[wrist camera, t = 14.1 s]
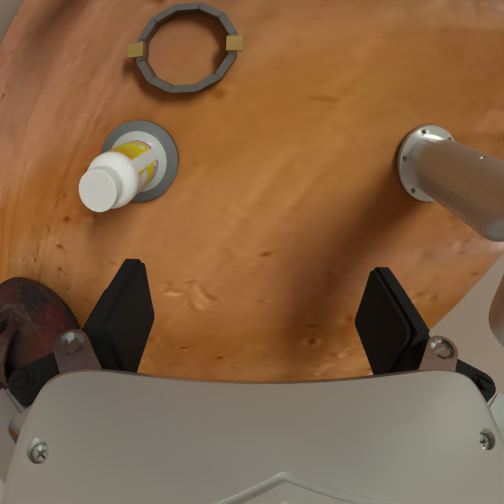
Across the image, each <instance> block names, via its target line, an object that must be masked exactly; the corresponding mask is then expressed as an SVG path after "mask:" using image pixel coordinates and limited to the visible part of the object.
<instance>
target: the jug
mask: <svg viewBox="0 0 504 504" xmlns="http://www.w3.org/2000/svg"><path fill="white" fill-rule="evenodd" d="M71 329H78V330H80V329H79V327H78V324H77V322H76V319H75V318H74V316H73V314H72V312H71V311H70V309H69V308H68V307H67V305H66V304H65V303H64V302H63V301H62V300H61V299H60V298H59V297H58V296H57V295H56V294H55V293H54V292H53V291H51V290H50V289H49V288H47V287H46V286H44V285H42V284H40V283H38V282H36V281H33V280H30V279H27V278H21V277H15V278H11V279H8V280H6V281H4V282H3V283H1V284H0V390H1V389H2V388H4V389H5V390H6V389H7V388H8V381H9V378H10V376H11V374H12V373H13V372H14V371H15V370H17V369H19V368H21V367H23V366H25V365H27V364H29V363H31V362H33V361H35V360H38V359H40V358H42V357H44V356H46V355H48V354H50V353H52V352H54V350H53V345H54V341H55V340H56V338H57V337H58V336H59V335H60V334H61V333H63V332H65V331H67V330H71Z"/></svg>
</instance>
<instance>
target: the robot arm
mask: <svg viewBox="0 0 504 504" xmlns="http://www.w3.org/2000/svg"><path fill="white" fill-rule="evenodd" d="M402 158H403V159H402ZM397 169H398V175H399V179H400V181H401V183H402V186H403V187H404V188H405V190H406V191H407V192H408V193H409V194H410V195H411V196H413V197H414V198H416V199H418V200H420V201H425V202H431V201H436V202H438V203H439V204H441V205H442V206H443V207H445V208H446V209H447V210H449V211H450V212H452V213H453V214H454V215H455V216H457V217H458V218H459V219H461V220H462V221H463V222H465V223H466V224H467V225H468V226H470V227H471V228H472V229H473V230H475V231H476V232H477V233H478V234H480V235H481V236H482V237H484V238H486V239H488V240H490V241H495V242H503V241H504V161H502V160H500V159H498V158H495V157H493V156H491V155H488V154H486V153H483V152H481V151H478V150H476V149H473V148H471V147H468V146H465V145H463V144H460V143H457V142H455V140H454V138H453V137H452V136H451V135H450V133H449V132H447V131H446V130H445V129H443V128H441V127H439V126H435V125H422V126H419V127H417V128H415V129H414V130H412V131H411V132H410V133H409V134H408V135H407V136H406V137H405V139H404V141H403V143H402V144H401V147H400V150H399V154H398V159H397ZM153 321H154V310H153V305H152V300H151V295H150V290H149V285H148V279H147V274H146V268H145V264H144V263H141V261H140V260H139V259H126V260H125V261H124V262H123V264H122V266H121V267H120V269H119V270H118V272H117V274H116V275H115V277H114V278H113V280H112V282H111V283H110V285H109V286H108V288H107V289H106V290H105V291H104V292H103V294H102V296H101V297H100V299H99V301H98V302H97V304H96V306H95V307H94V309H93V311H92V313H91V314H90V316H89V318H88V320H87V322H86V323H85V325H84V327H83V329H82V330H78V329H71V330H67V331H65V332H63V333H61V334H60V335H59V336H58V337H57V338H56V340H55V341H54V345H53V350H54V352H52V353H50V354H48V355H46V356H44V357H42V358H40V359H38V360H35V361H33V362H31V363H29V364H27V365H25V366H23V367H21V368H19V369H17V370H15V371H14V372H13V373H12V374H11V376H10V378H9V381H8V388H7V389H6V390H5V389H4V388H2V389H1V390H0V478H1V479H2V481H3V483H4V484H5V487H4V491H3V497H2V503H1V504H504V396H503V395H502V394H501V393H500V392H498V393H497V394H496V393H495V390H496V389H495V388H496V387H495V384H494V382H493V380H492V379H491V377H490V376H488V375H487V374H486V373H484V372H482V371H480V370H478V369H476V368H474V367H472V366H470V365H469V364H467V363H465V362H463V361H461V360H459V359H457V358H458V350H457V348H456V346H455V344H454V343H453V342H452V341H451V340H449V339H447V338H445V337H443V336H433V337H431V338H430V336H429V334H428V333H429V332H430V331H429V329H428V327H427V326H426V324H425V323H424V321H423V319H422V318H421V316H420V314H419V313H418V311H417V310H416V308H415V306H414V305H413V303H412V302H411V300H410V299H409V297H408V295H407V294H406V292H405V291H404V289H403V288H402V286H401V285H400V283H399V282H398V280H397V279H396V277H395V276H394V274H393V273H392V272H391V270H390V269H389V268H388V267H376V268H375V269H374V270H372V271H371V272H370V274H369V278H368V281H367V284H366V287H365V291H364V294H363V297H362V300H361V303H360V306H359V309H358V312H357V315H356V318H355V326H356V329H357V331H358V334H359V336H360V339H361V342H362V344H363V347H364V350H365V352H366V355H367V358H368V361H369V363H370V366H371V369H372V372H373V375H369V376H360V377H349V378H337V379H321V380H300V381H233V380H211V379H195V378H183V377H172V376H162V375H152V374H144V373H137V370H138V367H139V364H140V360H141V357H142V354H143V351H144V348H145V345H146V342H147V339H148V336H149V333H150V330H151V327H152V324H153ZM489 325H490V328H491V331H492V333H493V335H494V336H495V338H496V339H497V340H498V342H499V343H500V344H501V345H502V346H504V275H503V277H502V280H501V282H500V285H499V287H498V289H497V291H496V294H495V296H494V298H493V301H492V304H491V307H490V311H489Z"/></svg>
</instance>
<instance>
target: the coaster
mask: <svg viewBox="0 0 504 504" xmlns="http://www.w3.org/2000/svg"><path fill="white" fill-rule="evenodd" d="M132 140H142V141H145V142H147V143H149V144H150V145H151V146H152V147H153V148H154V149H155V151H156V152H157V155H158V159H159V166H158V171H157V173H156V175H155V176H154V178H153V179H152V180H151V181H150V182H149V183H148V184H147V185H146V186H145V187H144V188H143V189H142V190H141V191H140V192H139V193H138V194H137V195H136V196H135V197H134V198H133V199H132V200H131V201H135V202H143V201H149V200H152V199H154V198H156V197H158V196H160V195H161V194H163V193H164V192H165V191H166V190H167V189H168V187H169V186H170V185H171V184H172V182H173V180H174V179H175V176H176V174H177V170H178V165H179V156H178V150H177V147H176V144H175V142H174V140H173V138H172V137H171V135H170V134H169V133H168V132H167V131H166V130H165V129H164V128H163V127H161V126H160V125H158V124H156V123H154V122H151V121H146V120H135V121H130V122H127V123H124V124H122V125H120V126H119V127H117V128H116V129H114V130H113V131H112V132H111V133H110V135H109V136H108V137H107V139H106V140H105V143H104V145H103V147H102V151H101V154H103V153H105V152H107V151H109V150H111V149H113V148H115V147H117V146H120V145H122V144H124V143H126V142H129V141H132Z"/></svg>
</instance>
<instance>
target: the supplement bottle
mask: <svg viewBox="0 0 504 504" xmlns="http://www.w3.org/2000/svg"><path fill="white" fill-rule="evenodd" d="M158 166H159V159H158V155H157V152H156V151H155V149H154V148H153V147H152V146H151V145H150V144H149V143H147V142H145V141H142V140H132V141H129V142H126V143H124V144H122V145H120V146H117V147H115V148H113V149H111V150H109V151H107V152H105V153H103V154H101V155H99V156H98V157H96V158H95V159H94V160H93V161H92V162H91V164H90V166H89V168H88V170H87V172H86V173H85V174H84V175H83V177H82V178H81V180H80V183H79V194H80V197H81V200H82V202H83V203H84V204H85V205H86V206H87V207H88V208H89V209H91V210H92V211H95V212H104V211H107V210H109V209H110V208H112V209H114V208H119V207H122V206H124V205H126V204H127V203H129V202H130V201H131V200H132V199H133V198H134V197H135V196H136V195H137V194H138V193H139V192H140V191H141V190H142V189H143V188H144V187H145V186H146V185H147V184H148V183H149V182H150V181H151V180H152V179H153V178H154V176H155V175H156V173H157V171H158Z"/></svg>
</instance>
